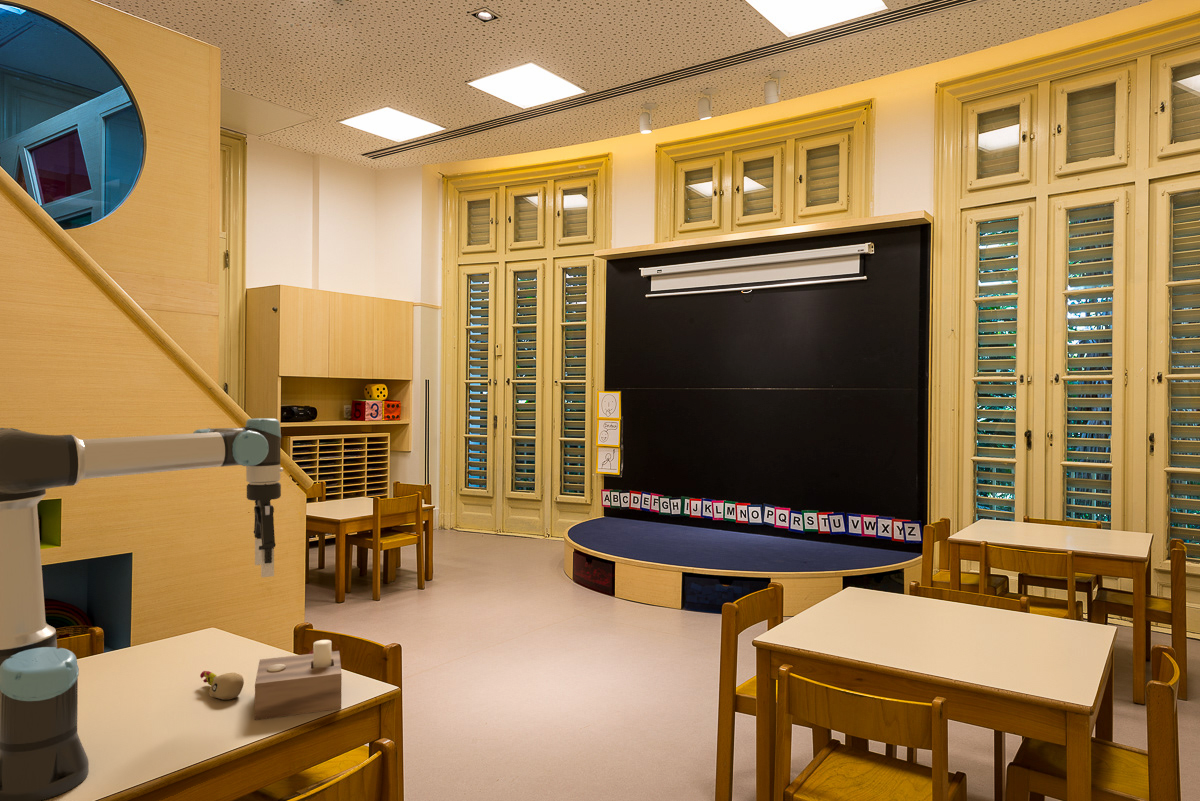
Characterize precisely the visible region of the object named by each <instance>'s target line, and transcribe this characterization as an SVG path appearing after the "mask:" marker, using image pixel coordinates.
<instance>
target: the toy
mask: <svg viewBox="0 0 1200 801" xmlns="http://www.w3.org/2000/svg"><path fill="white" fill-rule="evenodd" d="M204 677H205V678H204ZM203 678H204V679H203ZM200 679H203V680H202V681H203V683H207V684H208V685H209V686H210V687H209V690H208V692H209V696H210V698H211V697H212V698H215V699H219V700H223V701H227V700H228V701H229V700H232V699H235V698H237V697H238V696H240V694H241V692H242V690H243V687H244V684H245V682H244V681H245V680H244V677H243V675H242V674H240V673H236V672H228V673H227V672H226V673H222V674H220V675H217V674H216V673H213V671H209V670H203V671H202V672H201V673H200Z"/></svg>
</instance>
